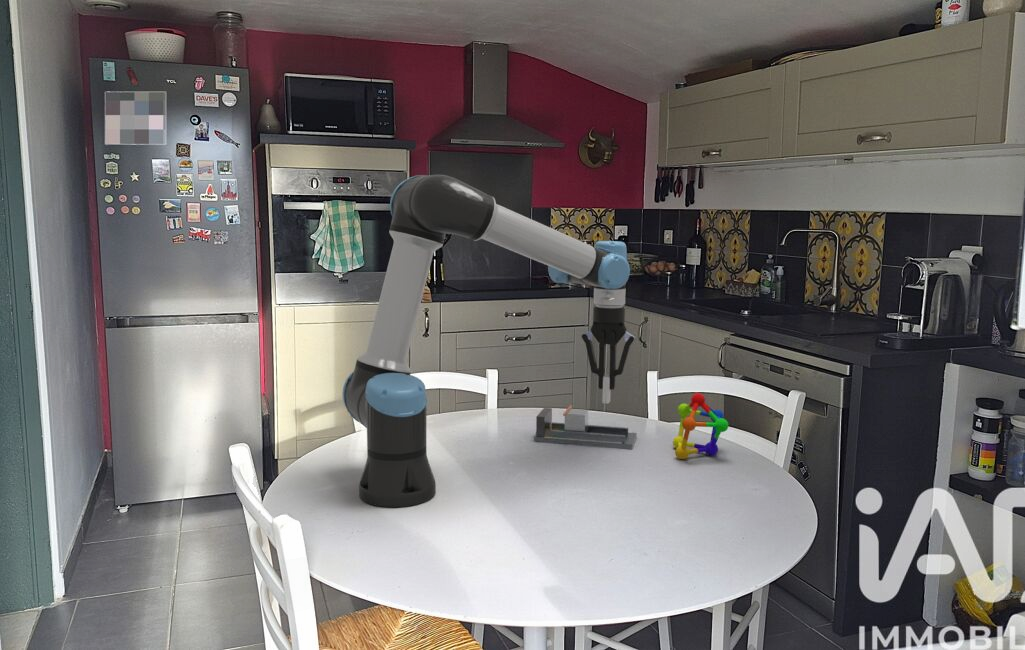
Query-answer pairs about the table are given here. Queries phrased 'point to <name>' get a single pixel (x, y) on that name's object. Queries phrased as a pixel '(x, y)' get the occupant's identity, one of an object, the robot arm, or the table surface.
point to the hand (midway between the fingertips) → (606, 402)
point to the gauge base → (582, 434)
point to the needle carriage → (576, 420)
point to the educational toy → (690, 425)
